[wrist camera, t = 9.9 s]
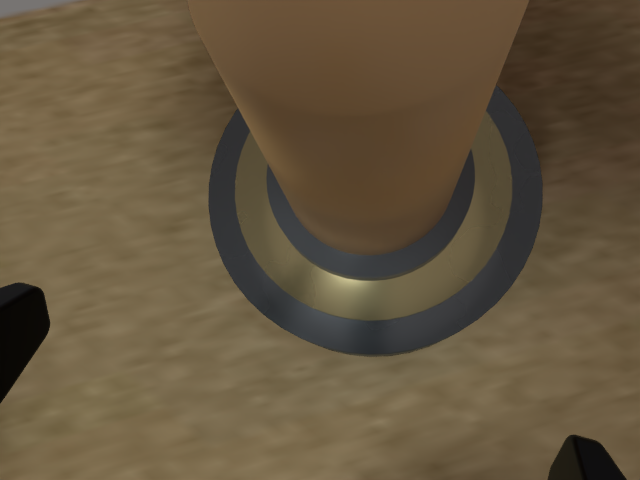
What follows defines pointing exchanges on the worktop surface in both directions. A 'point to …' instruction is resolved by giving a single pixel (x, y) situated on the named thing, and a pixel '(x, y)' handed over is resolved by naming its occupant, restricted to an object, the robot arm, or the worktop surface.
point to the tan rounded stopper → (363, 117)
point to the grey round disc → (392, 294)
